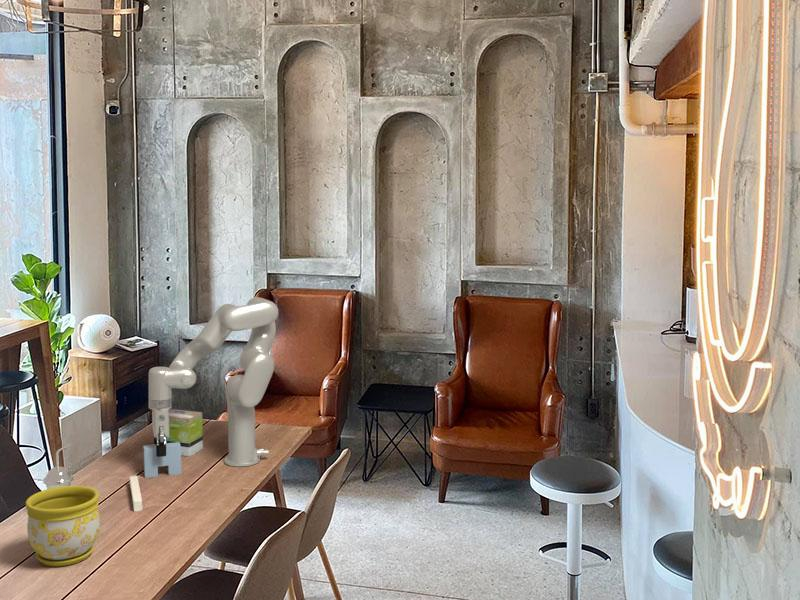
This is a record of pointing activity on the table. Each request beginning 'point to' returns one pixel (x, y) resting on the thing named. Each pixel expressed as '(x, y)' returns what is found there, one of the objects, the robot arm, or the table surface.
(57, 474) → the cup with straw
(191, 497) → the table surface
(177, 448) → the grey-blue plate
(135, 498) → the rail
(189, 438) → the tea box
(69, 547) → the flowerpot
